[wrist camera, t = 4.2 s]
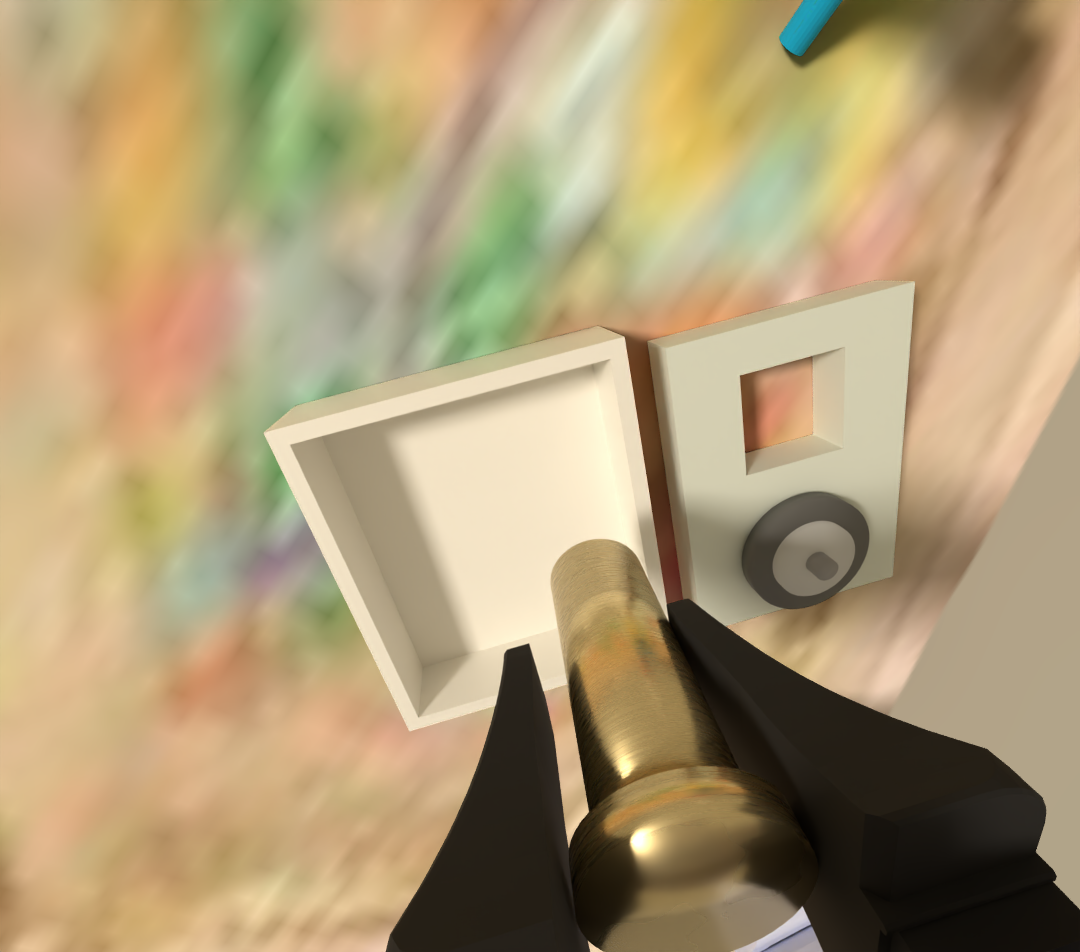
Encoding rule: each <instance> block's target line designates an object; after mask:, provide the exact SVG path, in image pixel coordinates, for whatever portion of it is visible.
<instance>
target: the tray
mask: <svg viewBox="0 0 1080 952" xmlns="http://www.w3.org/2000/svg"><path fill="white" fill-rule="evenodd" d="M264 435H265V437H266V439H267V441H268V443H269V445H270V447H271V449H272V451H273V453H274V455H275V457H276V459H277V461H278V463H279V465H280V468H281V470H282V472H283V474H284V476H285V478H286V480H287V482H288V484H289V486H290V488H291V490H292V492H293V494H294V496H295V498H296V500H297V502H298V504H299V506H300V508H301V510H302V512H303V515H304V517H305V519H306V521H307V523H308V525H309V527H310V529H311V531H312V533H313V535H314V537H315V539H316V541H317V543H318V545H319V547H320V549H321V551H322V553H323V555H324V557H325V559H326V562H327V564H328V566H329V568H330V570H331V572H332V574H333V576H334V578H335V580H336V582H337V584H338V586H339V588H340V590H341V592H342V594H343V596H344V598H345V600H346V602H347V604H348V606H349V609H350V611H351V613H352V615H353V617H354V619H355V621H356V623H357V625H358V627H359V629H360V631H361V633H362V635H363V637H364V639H365V641H366V643H367V645H368V647H369V649H370V651H371V654H372V656H373V658H374V660H375V662H376V664H377V666H378V668H379V670H380V672H381V674H382V676H383V678H384V680H385V682H386V684H387V686H388V688H389V690H390V692H391V694H392V696H393V698H394V701H395V703H396V705H397V707H398V709H399V711H400V713H401V715H402V717H403V719H404V721H405V723H406V725H407V727H408V729H409V731H412V730H416V729H419V728H423V727H426V726H429V725H433V724H436V723H439V722H443V721H446V720H449V719H453V718H456V717H459V716H463V715H466V714H469V713H473V712H476V711H480V710H483V709H486V708H490V707H493V706H495V705H496V701H497V697H498V692H499V687H500V682H501V676H502V670H503V661H504V653H505V652H506V650H507V649H511V648H514V647H518V646H521V645H525V644H528V643H529V644H530V648H531V651H532V654H533V658H534V661H535V664H536V668H537V671H538V675H539V678H540V681H541V685H542V688H543V691H547V690H550V689H553V688H557V687H560V686H563V685H567V679H566V673H565V668H564V662H563V656H562V650H561V644H560V638H559V633H558V627H557V621H556V615H555V609H554V603H553V597H552V592H551V586H550V578H551V573H552V569H553V567H554V565H555V563H556V562H557V560H558V559H559V558H560V556H561V555H562V554H563V553H564V552H566V551H567V550H568V549H570V548H571V547H573V546H574V545H576V544H579V543H581V542H584V541H587V540H592V539H609V540H614V541H617V542H620V543H622V544H624V545H626V546H627V547H629V548H630V549H631V550H632V551H633V552H634V553H635V554H636V556H637V557H638V559H639V561H640V563H641V565H642V567H643V569H644V571H645V574H646V576H647V578H648V580H649V582H650V584H651V586H652V588H653V590H654V592H655V594H656V596H657V599H658V601H659V603H660V605H661V607H662V609H663V611H664V613H665V615H666V617H667V619H668V613H667V606H666V604H667V603H666V597H665V590H664V584H663V578H662V571H661V565H660V558H659V552H658V546H657V539H656V533H655V527H654V520H653V514H652V508H651V501H650V495H649V489H648V482H647V476H646V470H645V463H644V457H643V451H642V444H641V438H640V431H639V425H638V419H637V412H636V406H635V400H634V393H633V387H632V381H631V374H630V368H629V362H628V355H627V349H626V343H625V337H624V336H622V335H619V334H617V333H614V332H612V331H610V330H607V329H605V328H602V327H600V326H595V327H591V328H587V329H583V330H580V331H576V332H572V333H568V334H564V335H561V336H557V337H553V338H549V339H546V340H542V341H538V342H534V343H530V344H527V345H523V346H519V347H515V348H511V349H508V350H504V351H500V352H496V353H493V354H489V355H485V356H481V357H477V358H474V359H470V360H466V361H462V362H458V363H455V364H451V365H447V366H443V367H440V368H436V369H432V370H428V371H424V372H421V373H417V374H413V375H409V376H405V377H402V378H398V379H394V380H390V381H387V382H383V383H379V384H375V385H371V386H368V387H364V388H360V389H356V390H353V391H349V392H345V393H341V394H337V395H334V396H330V397H326V398H322V399H318V400H315V401H311V402H307V403H303V404H300V405H296V406H295V407H293V408H292V409H291V410H290V411H289V412H287V413H286V414H285V415H284V416H283V417H282V418H280V419H279V420H278V421H277V422H276V423H274V424H273V425H272V426H271V427H270V428H268V429H267V430H266V431H265V432H264ZM668 621H669V620H668Z"/></svg>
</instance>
